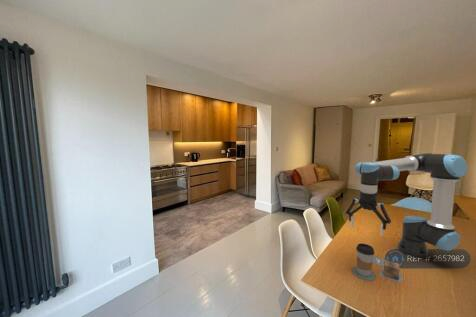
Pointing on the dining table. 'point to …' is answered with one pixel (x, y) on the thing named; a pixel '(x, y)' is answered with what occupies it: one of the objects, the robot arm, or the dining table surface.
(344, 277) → the dining table surface
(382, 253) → the dining table surface
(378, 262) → the tile
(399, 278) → the code tile
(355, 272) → the coaster
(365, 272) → the coffee cup
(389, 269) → the brown cube
